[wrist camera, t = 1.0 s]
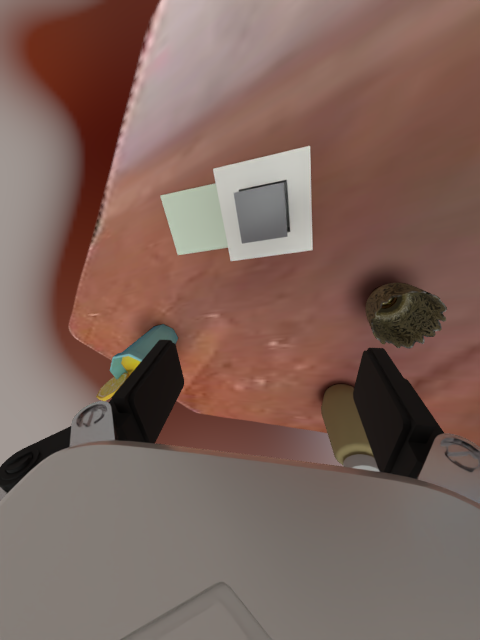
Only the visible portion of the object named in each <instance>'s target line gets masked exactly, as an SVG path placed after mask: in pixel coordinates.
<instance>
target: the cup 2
mask: <svg viewBox="0 0 480 640" xmlns="http://www.w3.org/2000/svg"><path fill="white" fill-rule="evenodd" d="M446 310H447V307H446V306H445V305H444V303H442V302H441V301H440V298H439V297H437V296H435V295H432V294H430V293H428V292H426V291H424V290H421V289H419V288H417V287H414V286H412V285H409V284H405V283H389V284H386V285H383V286H380V287H378V288H376V289H375V290H374V291H373V292H372V293H371V295H370V296H369V298H368V300H367V302H366V315H367V319H368V321H369V324H370V326H371V329H372V331H373V334H374V336H375V338H376V339H378V340H380V342H381V343H382V344H385V343H386V342H387V343H392V344H393V345H395V346H396V347H397V348H400V346H403V347H405V348H412V347H413V345H414V344H415V342H416V341H417V342H419V343H422V344H423V343H424V337H423V336H426V337H428V336H429V337H434V336H435V331H440V330H441V324H440V322H439V320H441V321H446V318H445V316H444V315H443V314H442V313H443V312H445V311H446ZM434 330H435V331H434Z"/></svg>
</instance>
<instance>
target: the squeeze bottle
mask: <svg viewBox="0 0 480 640" xmlns="http://www.w3.org/2000/svg"><path fill="white" fill-rule="evenodd" d="M353 391H354V388H353V387H351V386H349V385H346V384H337V385H334V386H331V387H330V388H328V389H327V390H326V392H325V394H324V398H323V402H322V407H321V413H322V416H323V420H324V423H325V426H326V429H327V433H328V435H329V439H330V442H331V446H332V449H333V452H334V455H335V458H336V459H337V461H338V462H339V463H341V464H342V465H343V466H344V467H349V468H356V469H363V470H370V471H377V472H380V471H379V469H378V467H377V464H376V461H375V458H374V456H373V453H372V450H371V447H370V444H369V441H368V439H367V436H366V433H365V430H364V427H363V425H362V422H361V419H360V416H359V413H358V411H357V408H356V405H355V402H354V399H353Z"/></svg>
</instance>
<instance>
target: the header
mask: <svg viewBox="0 0 480 640" xmlns="http://www.w3.org/2000/svg"><path fill="white" fill-rule="evenodd" d="M213 171H214V177H215V182H216V187H217V192H218V197H219V203H220V208H221V213H222V218H223V223H224V229H225V234H226V239H227V244H228V250H229V255H230V260H231V261H237V260H244V259H251V258H258V257H266V256H273V255H280V254H287V253H295V252H302V251H309V250H313V248H312V205H311V162H310V146H307V147H303V148H298V149H294V150H290V151H286V152H282V153H277V154H273V155H269V156H265V157H261V158H256V159H252V160H248V161H244V162H240V163H235V164H231V165H227V166H223V167H218V168H214V169H213ZM279 183H284V193H285V207H286V221H287V235H288V237H282V238H275V239H269V240H262V241H256V242H249V243H243V244H242V241H241V235H240V229H239V223H238V217H237V211H236V205H235V199H234V193H236V192H240V191H245V190H250V189H255V188H260V187H264V186H269V185H274V184H279Z"/></svg>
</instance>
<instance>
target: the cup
mask: <svg viewBox="0 0 480 640" xmlns="http://www.w3.org/2000/svg"><path fill="white" fill-rule="evenodd" d="M159 340H171V341H172V342H173V343H175V345H176V342H177V340H178V337H177V335H176V333H175V331H174V329H172V328H170V327H168V326H166V325H164V324H162V325H158V326H154V327H153V328H152V329H150V330H149V331H148V332H147V333H145V334H144V335H143V336H142V337H140V338H139V339H138V340H137V341H136V342H134V343H133V344H132V345H131V346H129V347H128V348H127V349H126V350H124V351H123V352H122V353H118V354H117V355H115V356H114V357H113V359H112V364H111V368H110V371H111V373H112V374H113V375H114V377H113V378H111V379H110V380H109V381H108V382H107V383H106V384H105V385H104V386H102V387H101V389H100V391H99V392H98V394H97V396H96V397H97V398H98V399H100V400H102V401H106V400H107V399H109V398H111V397H112V396H113V395H114V394H115V392H116V391H117V390H118V389H119V388H120V386H121V385H122V384H123V383H124V382H125V380H126V379H127V378H128V377H129V376H130V374H131V373H132V372H133V371H134V370H135V368H136V367H137V366H138V365H139V364H140V362H141V361H142V360H143V359H144V358H145V356H146V355H147V354H148V353H149V352H150V350H151V349H152V348H153V347H154V346H155V344H156V343H157V342H158V341H159Z"/></svg>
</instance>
